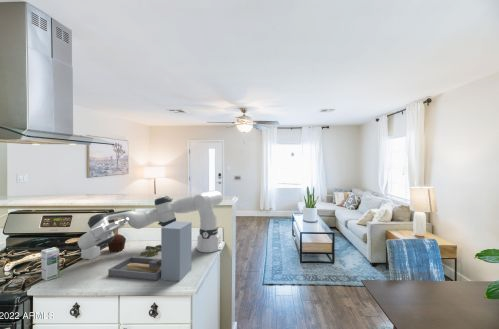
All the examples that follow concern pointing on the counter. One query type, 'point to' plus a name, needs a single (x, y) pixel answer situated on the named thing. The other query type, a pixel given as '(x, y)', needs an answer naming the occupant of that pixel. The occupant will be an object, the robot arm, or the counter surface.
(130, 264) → the oak handled hammer
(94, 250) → the medicine bottle
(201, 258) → the counter surface
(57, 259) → the syrup box
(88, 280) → the counter surface
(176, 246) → the slate stand
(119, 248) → the muffin
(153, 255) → the cookie cutter
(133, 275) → the charcoal tray
